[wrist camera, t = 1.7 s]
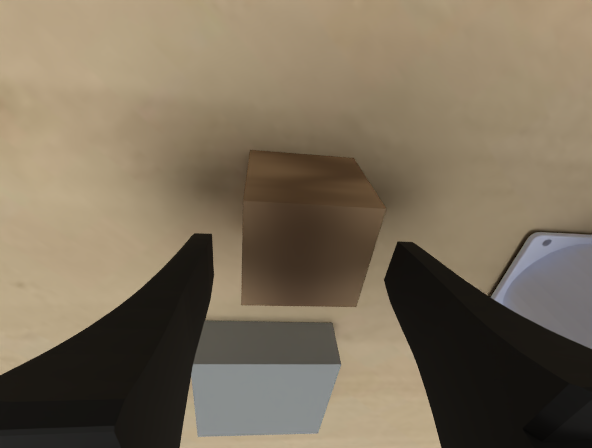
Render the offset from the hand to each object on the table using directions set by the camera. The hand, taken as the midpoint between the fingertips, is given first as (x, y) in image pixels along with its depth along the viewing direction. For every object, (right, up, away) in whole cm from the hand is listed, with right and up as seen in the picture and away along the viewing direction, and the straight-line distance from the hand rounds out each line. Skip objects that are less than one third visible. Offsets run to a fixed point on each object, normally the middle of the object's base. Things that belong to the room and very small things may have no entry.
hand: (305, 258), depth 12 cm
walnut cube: (0, +3, +4) cm, 5 cm away
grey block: (-3, -9, +12) cm, 15 cm away
